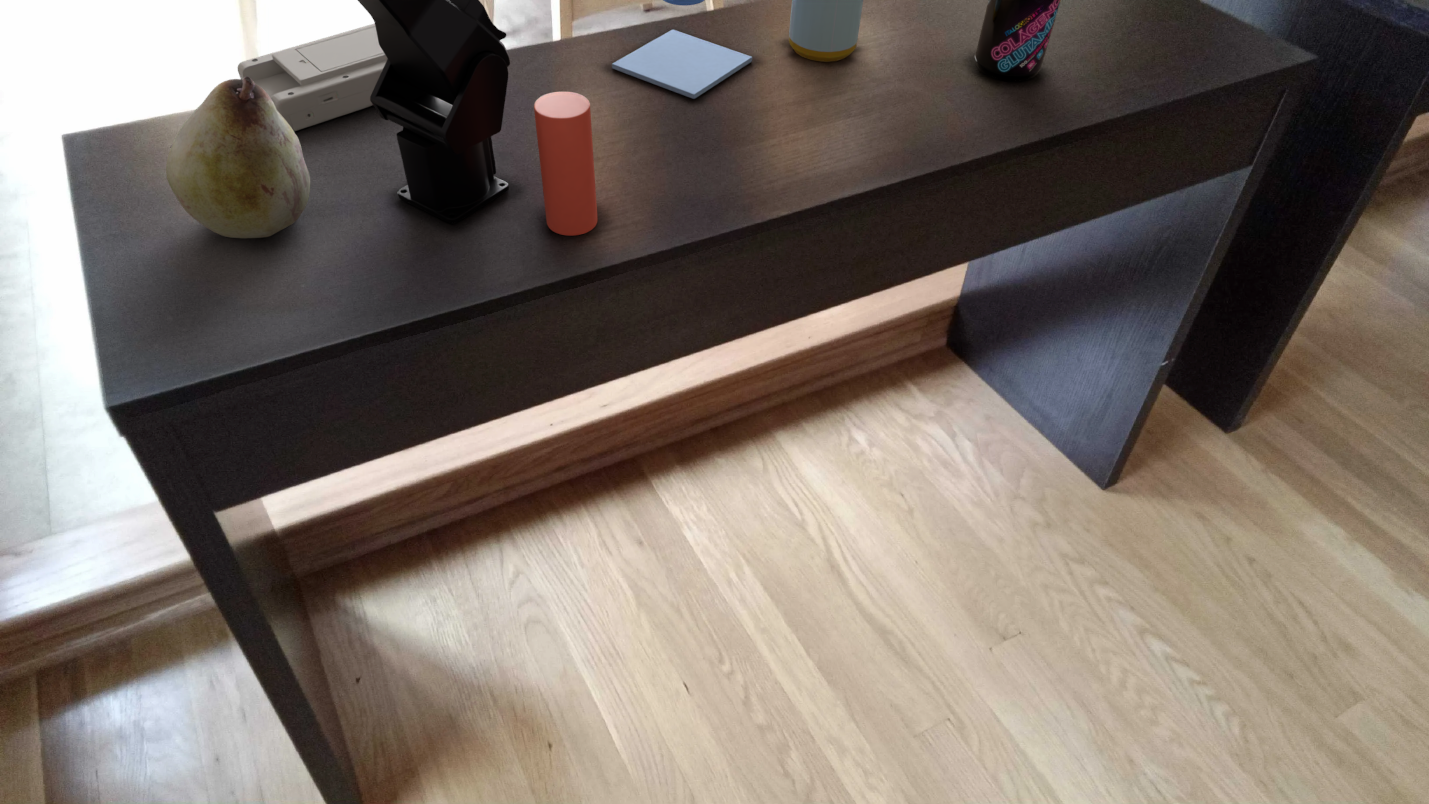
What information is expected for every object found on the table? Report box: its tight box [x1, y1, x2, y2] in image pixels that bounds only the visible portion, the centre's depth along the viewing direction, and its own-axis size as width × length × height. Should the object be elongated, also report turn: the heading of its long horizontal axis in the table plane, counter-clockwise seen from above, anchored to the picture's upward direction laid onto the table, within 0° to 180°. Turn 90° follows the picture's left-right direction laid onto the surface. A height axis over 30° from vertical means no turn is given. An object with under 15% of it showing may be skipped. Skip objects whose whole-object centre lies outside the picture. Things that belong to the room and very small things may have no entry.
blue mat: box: [611, 29, 753, 100], centre depth 94 cm, size 10×10×1 cm
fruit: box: [165, 76, 311, 239], centre depth 69 cm, size 10×9×12 cm
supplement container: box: [974, 0, 1062, 83], centre depth 93 cm, size 7×7×10 cm
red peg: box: [533, 91, 598, 237], centre depth 72 cm, size 4×4×10 cm
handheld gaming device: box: [237, 23, 388, 132], centre depth 87 cm, size 9×15×4 cm, turn 131°
